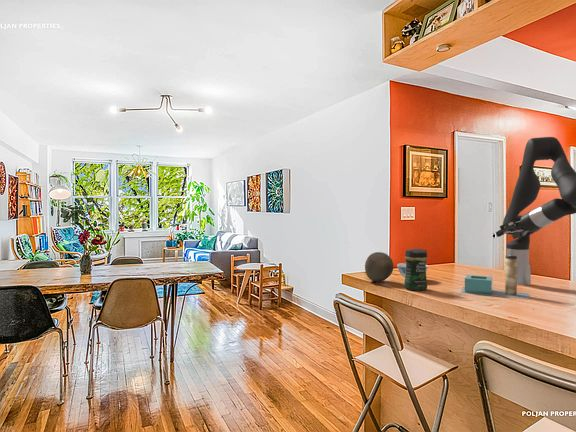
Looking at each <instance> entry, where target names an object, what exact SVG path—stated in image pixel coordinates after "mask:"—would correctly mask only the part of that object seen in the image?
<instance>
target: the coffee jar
mask: <svg viewBox="0 0 576 432" xmlns="http://www.w3.org/2000/svg"><path fill="white" fill-rule="evenodd" d="M404 259H405V263H406V275H405V277H404V278H405V279H404V288H405V289H406V290H411V291H425V290H427V289H428V278H427V271H426V265H427V260H428V251H427V250H426V249H422V248H408V249H406V250H405V254H404Z"/></svg>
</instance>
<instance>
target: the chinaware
mask: <svg viewBox="0 0 576 432" xmlns="http://www.w3.org/2000/svg"><path fill="white" fill-rule="evenodd" d="M396 266H397V270H398V272H399V274H400V275H401V276H402V277H403V278H405V275H406V262H402V263H397V265H396ZM428 267H429V265H428V264H426V272H427V271H428Z"/></svg>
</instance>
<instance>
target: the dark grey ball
mask: <svg viewBox="0 0 576 432" xmlns="http://www.w3.org/2000/svg"><path fill="white" fill-rule="evenodd" d="M364 271H365V274H366V276H367V278H368V279H369V280H370V281H372V282H374V283H380V282H381V283H382V282H384V281H385V280H386V281H387V279H388V278H390V277H391V275H392V274H393V271H394V262H393V259H392V258H391V256H389V255H388V253H386V252H381V251H377V252H373V253H371V254H369V255H368V257H367V258H366V260H365V263H364Z"/></svg>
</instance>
